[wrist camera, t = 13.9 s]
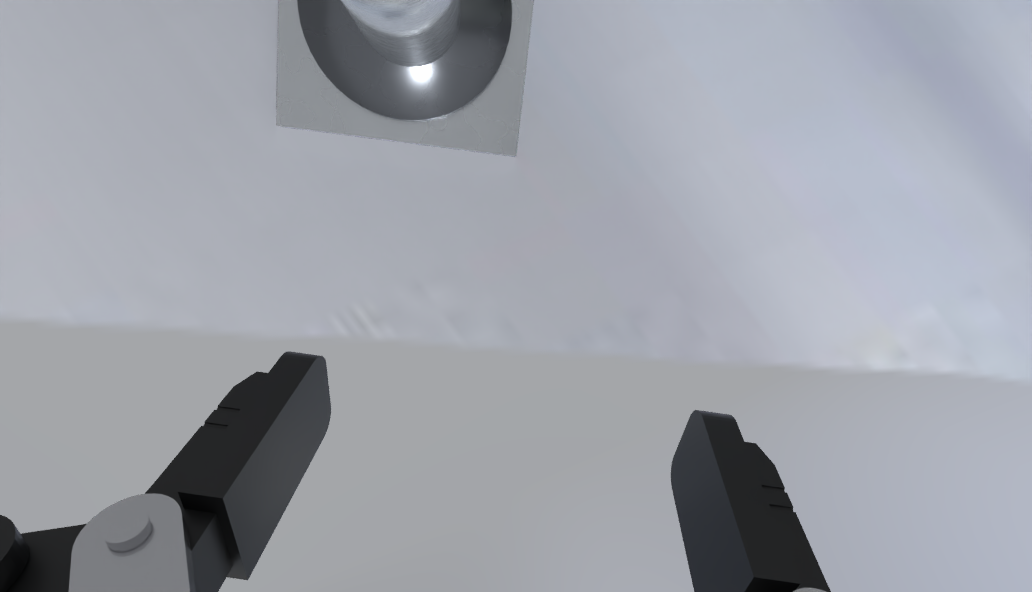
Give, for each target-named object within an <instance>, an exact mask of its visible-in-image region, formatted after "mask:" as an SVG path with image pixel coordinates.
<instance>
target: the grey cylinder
mask: <svg viewBox="0 0 1032 592" xmlns="http://www.w3.org/2000/svg"><path fill="white" fill-rule="evenodd" d="M341 1H342V3H343V4H344V6H345V7H346V9H347V10H348V12H349V14H350V15H351V17H352V18H353V20H354V21H355V23H356V24H357V26H358V27H359V29H360V30H361V32H362V34H363V35H364V37H365V38H366V40H367V41H368V43H369V44H370V45H371V47H372V48H373V49H374V50H375V51H376V52H377V53H378V54H379V55H381V56H382V57H383V58H385V59H386V60H388V61H390V62H392V63H395V64H398V65H401V66H406V67H419V66H424V65H427V64H430V63H432V62H434V61H436V60H438V59H439V58H440V57H442V56H443V55H444V54H445V53H446V52H447V51H448V50H449V48H450V47H451V46H452V44H453V42H454V40H455V38H456V36H457V33H458V29H459V24H460V0H341Z"/></svg>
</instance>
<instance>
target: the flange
mask: <svg viewBox="0 0 1032 592" xmlns="http://www.w3.org/2000/svg"><path fill="white" fill-rule="evenodd" d="M533 3H534V0H460V24H459V29H458V33H457V36H456V38H455V40H454V42H453V44H452V46H451V47H450V48H449V50H448V51H447V52H446V53H445V54H444V55H443V56H442V57H440V58H439V59H438V60H436V61H434V62H432V63H430V64H427V65H424V66H419V67H406V66H401V65H398V64H395V63H392V62H390V61H388V60H386V59H385V58H383V57H382V56H381V55H379V54H378V53H377V52H376V51H375V50H374V49H373V48H372V47H371V45H370V44H369V43H368V41H367V40H366V38H365V37H364V35H363V34H362V32H361V30H360V29H359V27H358V26H357V24H356V23H355V21H354V20H353V18H352V17H351V15H350V14H349V12H348V10H347V9H346V7H345V6H344V4H343V3H342V1H341V0H279V11H278V64H277V116H276V125H277V126H280V127H285V128H293V129H301V130H309V131H317V132H324V133H332V134H340V135H348V136H356V137H363V138H371V139H379V140H387V141H395V142H402V143H410V144H418V145H426V146H434V147H441V148H449V149H457V150H465V151H473V152H480V153H488V154H496V155H504V156H512V157H515V156H516V153H517V144H518V136H519V127H520V118H521V109H522V100H523V92H524V83H525V74H526V65H527V56H528V48H529V39H530V30H531V21H532V12H533Z"/></svg>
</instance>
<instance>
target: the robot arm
mask: <svg viewBox="0 0 1032 592" xmlns="http://www.w3.org/2000/svg"><path fill="white" fill-rule="evenodd" d="M330 415H331V403H330V396H329V386H328V376H327V367H326V361H325V359H324V357H323V356H317V355H310V354H303V353H296V352H286V353H284V354H283V355H282V356H281V357H280V359H279V360H278V361H277V362H276V364H275V365H274V366H273V368H272V369H271V370H270V372H269V373H263V372H256V373H254V374H253V375H251V376H249V377H248V378H247V379H245V380H243V381H242V382H240V383H239V384H237V385H236V386H234V387H233V388H232V390H231V391H230V392H229V393H228V394H227V396H226V397H225V398H224V399H223V400H222V401H221V403H220V404H219V405H218V408H217V410H214V411H213V412H212V414H211V415H210V416H209V417H208V418H207V420H206V421H205V424H204V426H201V427H200V428H199V429H198V431H197V432H196V433H195V434H194V435H193V437H192V438H191V439H190V440H189V442H188V443H187V444H186V445H185V446H184V447H183V449H182V450H181V451H180V452H179V454H178V455H177V456H176V457H175V458H174V460H173V461H172V462H171V463H170V464H169V466H168V467H167V468H166V469H165V471H164V472H163V473H162V474H161V475H160V477H159V478H158V479H157V480H156V481H155V483H154V484H153V485H152V486H151V487H150V488H149V490H148V491H147V492H146V493H145V494H141V495H136V496H133V497H129V498H126V499H124V500H121V501H119V502H117V503H115V504H113V505H111V506H109V507H107V508H106V509H104V510H103V511H101V512H100V513H99V514H97V515H96V516H95V517H94V518H92V520H91V521H89V522H88V523H87V524H83V525H78V526H71V527H64V528H57V529H50V530H44V531H37V532H30V533H24V534H20V533H19V531H18V530H17V528H16V527H15V525H14V524H13V522H12V521H11V520H10V519H8V518H7V517H4V516H2V515H0V592H218V591H219V589H220V587H221V586H222V584H223V582H224V580H225V579H226V577H230V578H237V579H244V580H248V579H249V577H250V575H251V573H252V571H253V569H254V567H255V566H256V564H257V562H258V560H259V558H260V556H261V554H262V552H263V551H264V549H265V547H266V545H267V543H268V541H269V539H270V538H271V536H272V534H273V532H274V530H275V528H276V526H277V524H278V522H279V521H280V519H281V517H282V515H283V513H284V511H285V509H286V507H287V505H288V503H289V502H290V500H291V498H292V496H293V494H294V492H295V490H296V489H297V487H298V485H299V483H300V481H301V479H302V477H303V476H304V473H305V472H306V470H307V468H308V466H309V464H310V462H311V461H312V459H313V457H314V455H315V453H316V451H317V449H318V447H319V446H320V444H321V442H322V440H323V438H324V436H325V434H326V431H327V429H328V425H329V421H330ZM671 484H672V490H673V495H674V499H675V504H676V508H677V513H678V518H679V523H680V527H681V532H682V537H683V541H684V546H685V550H686V555H687V560H688V564H689V569H690V574H691V578H692V582H693V587H694V592H831V591H830V589H829V587H828V585H827V583H826V580H825V578H824V576H823V574H822V572H821V569H820V567H819V565H818V562H817V560H816V558H815V556H814V554H813V551H812V549H811V546H810V544H809V542H808V540H807V538H806V535H805V533H804V531H803V529H802V526H801V524H800V522H799V519H798V517H797V515H796V513H795V512H793V506H792V503H791V501H790V499H789V497H788V494H787V493H785V492H784V485H783V483H782V481H781V479H780V476H779V474H778V472H777V470H776V467H775V465H774V464H773V463H772V462H771V460H770V459H769V458H768V457H767V456H766V455H765V454H764V452H763V451H762V450H761V449H760V448H759V447H758V445H757V444H755V443H749V442H744V440H743V437H742V435H741V432H740V430H739V427H738V425H737V422H736V420H735V419H734V417H733V416H732V415H727V414H720V413H713V412H706V411H699V410H695V411H694V412H693V413H692V414H691V416H690V418H689V421H688V423H687V425H686V428H685V430H684V433H683V435H682V438H681V440H680V443H679V445H678V447H677V450H676V452H675V455H674V458H673V461H672V467H671Z"/></svg>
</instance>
